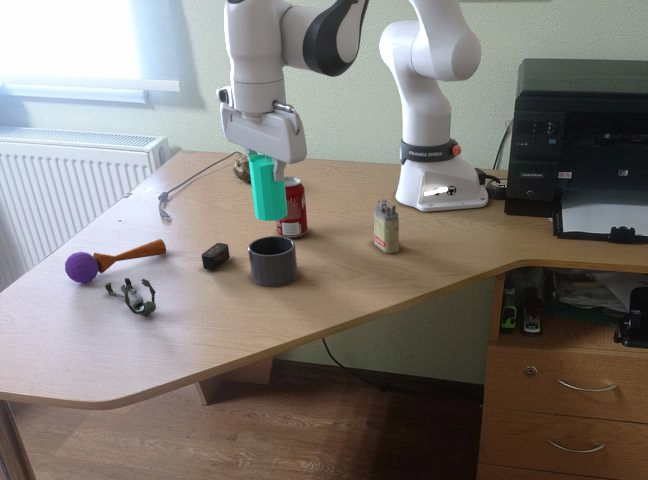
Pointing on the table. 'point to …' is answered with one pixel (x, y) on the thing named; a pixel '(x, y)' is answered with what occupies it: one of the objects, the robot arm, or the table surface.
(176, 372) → the table surface
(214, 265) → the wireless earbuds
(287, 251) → the cup
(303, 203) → the soda can
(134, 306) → the zombie figurine
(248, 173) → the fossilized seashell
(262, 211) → the candle
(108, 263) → the kendama
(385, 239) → the lighter
